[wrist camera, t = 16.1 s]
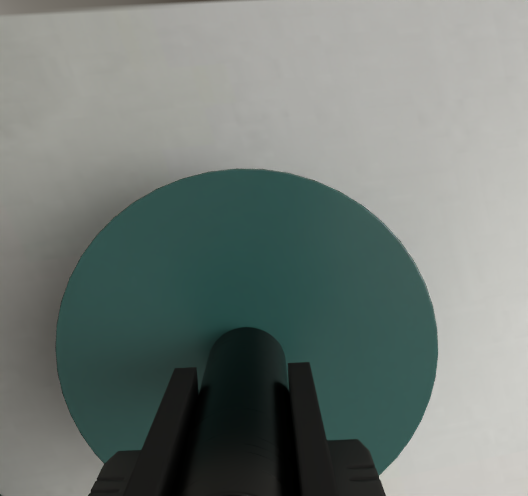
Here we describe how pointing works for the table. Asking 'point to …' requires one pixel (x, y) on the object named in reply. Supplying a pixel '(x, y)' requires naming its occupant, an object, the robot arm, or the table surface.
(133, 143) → the table surface
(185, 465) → the lid
